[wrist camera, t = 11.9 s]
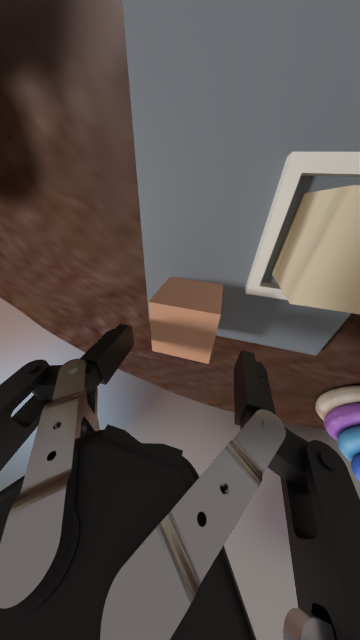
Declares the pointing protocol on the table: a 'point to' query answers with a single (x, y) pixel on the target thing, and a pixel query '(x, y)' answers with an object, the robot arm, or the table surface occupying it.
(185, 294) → the terracotta block
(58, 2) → the table surface
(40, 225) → the table surface
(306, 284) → the maple block
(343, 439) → the stacking toy
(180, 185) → the board
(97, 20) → the table surface
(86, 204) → the table surface
